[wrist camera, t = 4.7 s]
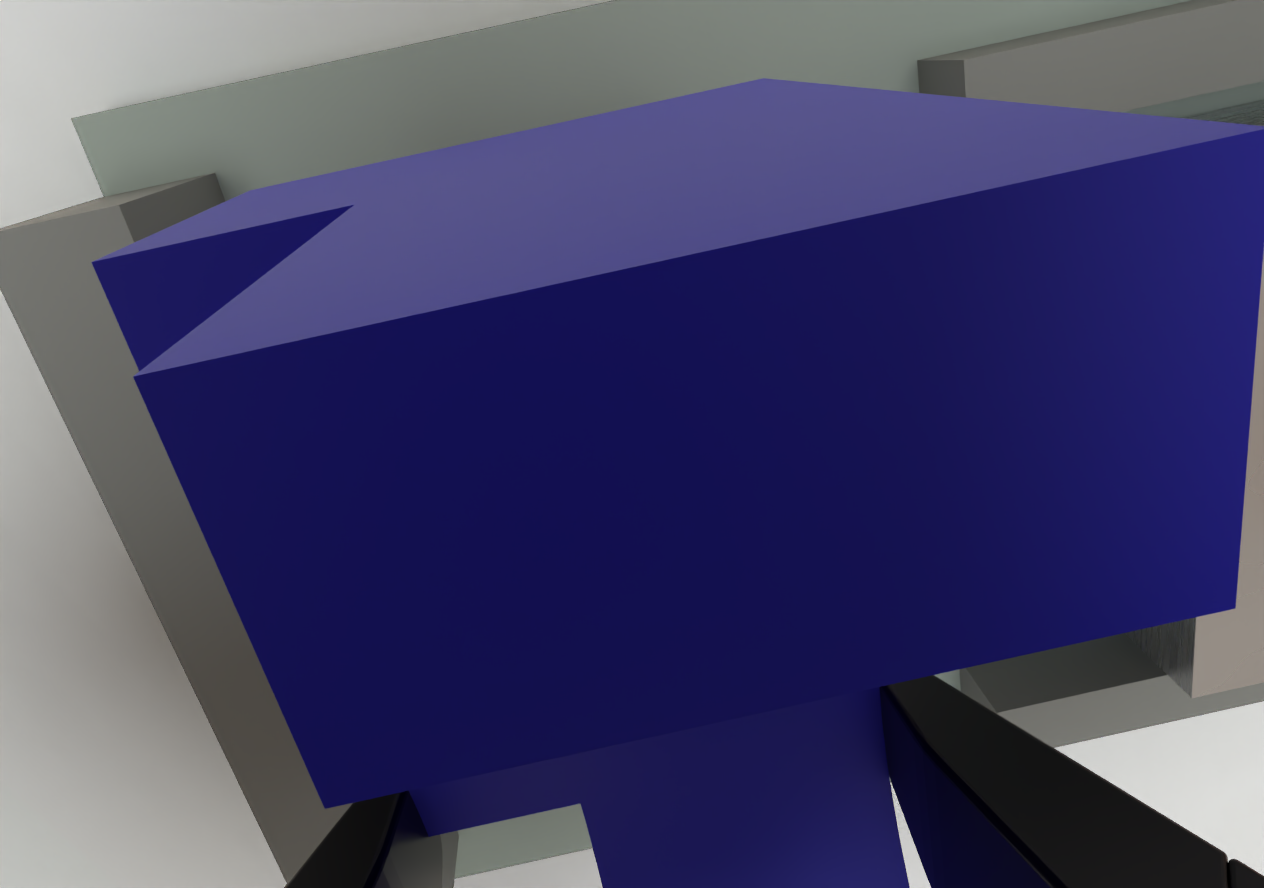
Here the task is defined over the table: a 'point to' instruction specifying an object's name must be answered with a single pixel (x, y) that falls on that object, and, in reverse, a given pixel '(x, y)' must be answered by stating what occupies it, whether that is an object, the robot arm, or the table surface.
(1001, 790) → the robot arm
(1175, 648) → the ram
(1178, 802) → the table surface
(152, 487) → the grey fixture base
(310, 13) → the table surface
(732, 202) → the blue flanged block
